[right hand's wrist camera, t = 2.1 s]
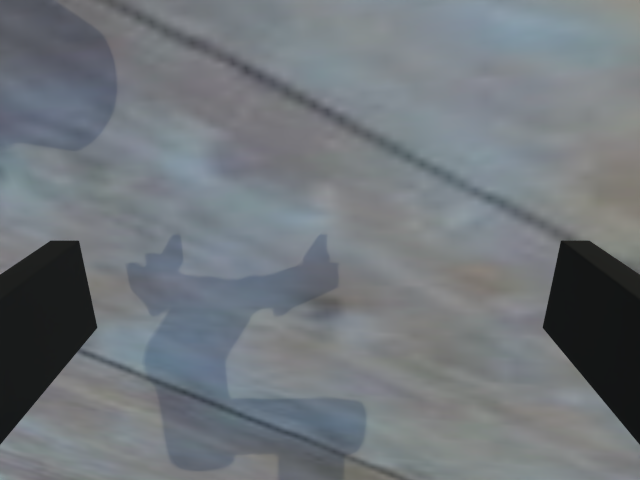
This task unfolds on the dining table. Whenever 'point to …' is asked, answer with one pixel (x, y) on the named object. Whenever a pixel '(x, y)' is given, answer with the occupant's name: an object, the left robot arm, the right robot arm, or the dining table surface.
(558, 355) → the dining table surface
